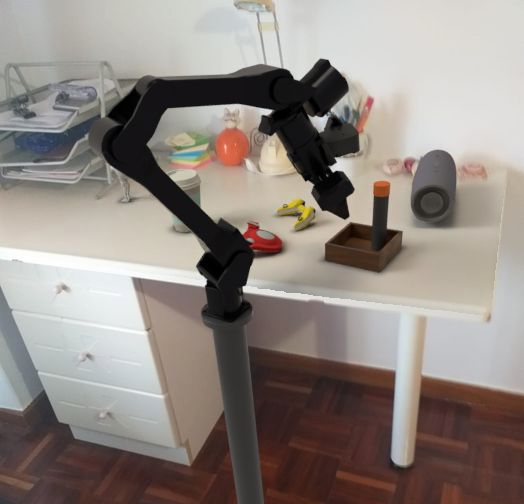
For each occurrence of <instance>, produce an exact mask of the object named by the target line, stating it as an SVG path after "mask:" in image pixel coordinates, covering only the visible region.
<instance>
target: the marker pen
mask: <svg viewBox="0 0 524 504" xmlns="http://www.w3.org/2000/svg"><path fill="white" fill-rule="evenodd" d="M372 187H373V189H372V195H373V198H372V219H371V221H372V223H371V226H372V242H371V249H372V250H374V251H381V250H382V249H383V248H384V247H385V245H386V236H387V228H388V220H389V219H388V217H389V203H390V193H391V182H390V181H387V180H378V181H374V182H373V185H372Z"/></svg>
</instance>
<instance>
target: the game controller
mask: <svg viewBox="0 0 524 504" xmlns="http://www.w3.org/2000/svg"><path fill="white" fill-rule="evenodd" d="M299 212H301V215H300V216H298V214H299ZM316 212H317V211H316V208H314V207H313V206H310V205H309V206H307V207H306V200H303V199H302V198H296V199H293V200H292V201H290V202H289V203H288V204H286V203H284V204H283V205H282V206H281V207H279V208H278V209H277V210H276V214H277V216H280V217H281V216H286V215H291V214H292V215H293V216H298V218H297V221H295V222H294V225H293V228H294V230H295V231H301V230H302V229H303V228H305V227H308V226H311V222H312V221H314V220H315V218H316Z"/></svg>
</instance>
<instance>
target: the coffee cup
mask: <svg viewBox="0 0 524 504" xmlns="http://www.w3.org/2000/svg"><path fill="white" fill-rule="evenodd" d="M165 173H166V174H167V175H168V176H169V177H170V178H171V179H172V180H173V181H174V182H175V183H176V184H177V185H178V186H179V187H180V188H181V189H182V190H183V191H184V192H185V193H186V194H187V195H188V196H189V197H190V198H191V199H192V200H193V201H194V202H195V203H196V204H197V205H198V206H199V207H200V208H201V209H202V207H201V202H202V201H201V183H202V180H201V177H200V176H199V173H198V171H197V170H195V169H191V168H179V169H174V170H170V171H168V172H165ZM170 215H171V218H172V222H173V225H174V228H175V230H176V231H177V232H180V233H191V232H190V231H189V230H188V229H187V228H186V227H185V226H184V225H183V224H182V223H181V222H180V221H179V220H178V219H177V218H175V217H174V216H173V215H172V214H171V213H170Z"/></svg>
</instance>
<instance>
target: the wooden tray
mask: <svg viewBox="0 0 524 504" xmlns="http://www.w3.org/2000/svg"><path fill="white" fill-rule="evenodd" d="M403 236H404V232H403V230H399V229H393V228H388V227H387V236H386V245H385V247H384V248H383V249H382V250H381V251H374V250H372V249H371V242H372V224H371V225H370V224H363V223H359V222H353V221H349V223H347V224H346V225H345V226H344V227H343V228H342V229H340V230H339V231H338V232H336V234H334V235H333V236H332V237H331V238H329V240H328V241H326V242H325V243H324V261H325V262H329V263H333V264H337V265H343V266H348V267H353V268H357V269H361V270H366V271H371V272H375V273H380V272H381V271H382V270H383V269H384V268H385V266H386V265H387V264H388V263H389V262H390V261H391V260H393V258H394V257H395V256H396V255H397V254H398V252H399V251H400V250H401V249H402V247H403Z"/></svg>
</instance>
